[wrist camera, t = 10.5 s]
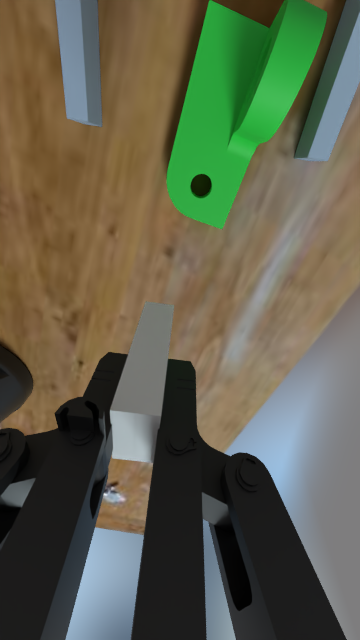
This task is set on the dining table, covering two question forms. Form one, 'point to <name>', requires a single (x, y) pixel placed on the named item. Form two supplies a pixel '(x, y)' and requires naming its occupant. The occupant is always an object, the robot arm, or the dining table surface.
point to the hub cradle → (325, 113)
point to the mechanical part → (238, 100)
